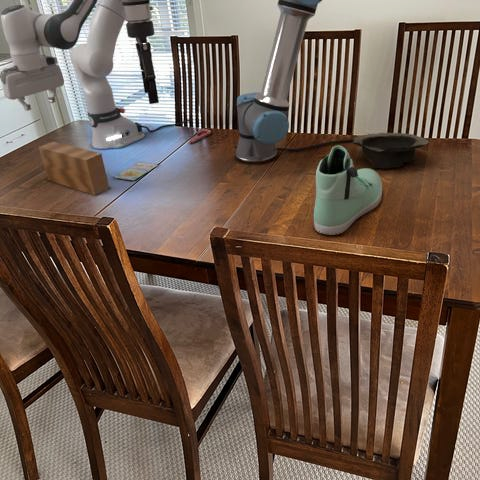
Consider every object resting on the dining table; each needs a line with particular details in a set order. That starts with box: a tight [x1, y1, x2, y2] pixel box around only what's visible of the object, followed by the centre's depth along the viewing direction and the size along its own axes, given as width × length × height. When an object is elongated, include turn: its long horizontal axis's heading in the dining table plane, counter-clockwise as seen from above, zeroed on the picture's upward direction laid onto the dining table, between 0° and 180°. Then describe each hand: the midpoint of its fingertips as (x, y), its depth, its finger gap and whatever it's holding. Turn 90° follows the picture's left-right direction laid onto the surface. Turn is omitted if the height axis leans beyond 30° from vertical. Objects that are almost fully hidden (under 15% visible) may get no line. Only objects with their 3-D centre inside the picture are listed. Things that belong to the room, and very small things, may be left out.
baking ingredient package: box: [114, 161, 159, 181], centre depth 173 cm, size 9×1×15 cm
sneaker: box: [313, 145, 383, 236], centre depth 133 cm, size 14×35×20 cm, turn 152°
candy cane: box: [188, 128, 212, 145], centre depth 200 cm, size 6×15×2 cm, turn 145°
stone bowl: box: [352, 132, 430, 170], centre depth 165 cm, size 25×25×9 cm
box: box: [38, 140, 110, 196], centre depth 165 cm, size 26×6×13 cm, turn 54°
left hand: (40, 106), depth 159 cm, fingers open, 8 cm apart
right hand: (151, 97), depth 145 cm, fingers open, 13 cm apart
